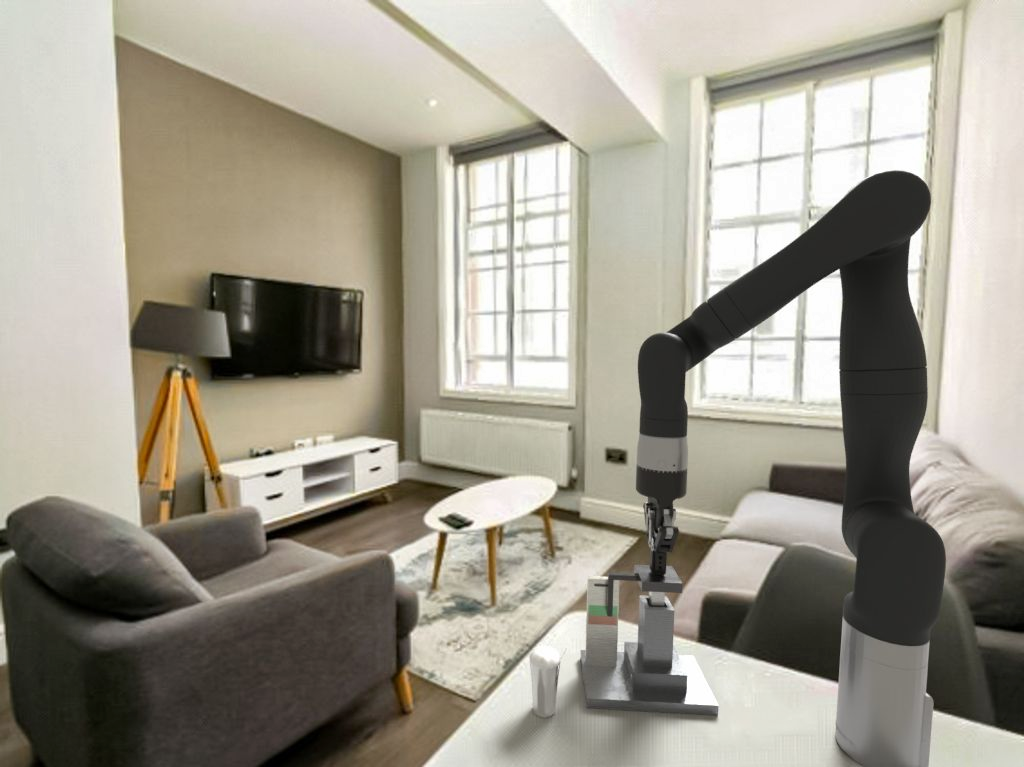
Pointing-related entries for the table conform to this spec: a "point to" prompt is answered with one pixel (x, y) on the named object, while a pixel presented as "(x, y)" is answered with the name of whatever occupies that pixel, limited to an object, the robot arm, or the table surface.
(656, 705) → the gauge stand
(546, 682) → the milkshake
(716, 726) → the table surface
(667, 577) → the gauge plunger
